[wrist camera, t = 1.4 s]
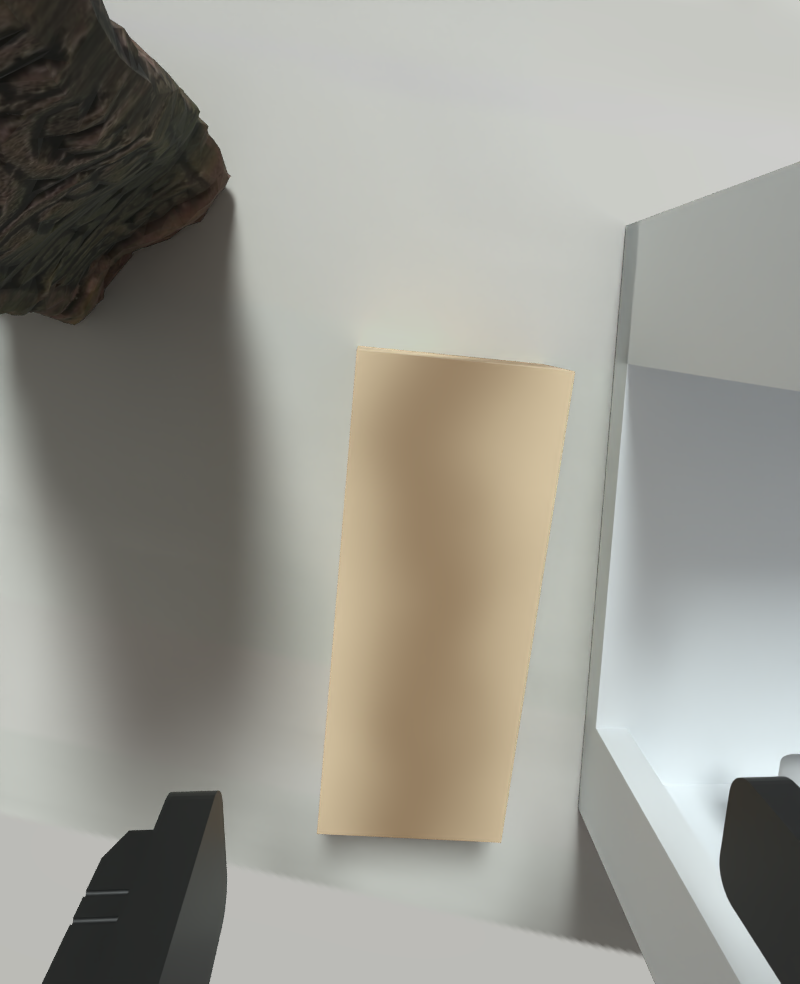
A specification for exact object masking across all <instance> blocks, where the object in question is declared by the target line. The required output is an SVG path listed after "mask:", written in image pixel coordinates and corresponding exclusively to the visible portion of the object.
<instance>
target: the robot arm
mask: <svg viewBox="0 0 800 984" xmlns="http://www.w3.org/2000/svg"><path fill="white" fill-rule="evenodd" d="M226 868H227V867H226V850H225V834H224V817H223V801H222V795H221V792H220V791H194V792H170V793H169V794H168V796H167V798H166V800H165V802H164V805H163V807H162V810H161V812H160V815H159V817H158V820H157V822H156V825H155V827H154V830H132V831H128V832H127V833H126V834H125V835H124V836H123V837H122V838H121V839H120V840H119V841H118V842H117V843H116V844H115V845H114V846H113V847H112V849H110V850H109V852H107V853H106V854H105V855H104V856H103V857H102V859H101V861H100V863H99V865H98V867H97V869H96V871H95V873H94V875H93V878H92V880H91V882H90V884H89V886H88V888H87V890H86V896H85V897H83V898H82V901H81V903H80V905H79V907H78V909H77V911H76V913H75V915H74V917H73V924H72V925H70V926H69V928H68V930H67V932H66V934H65V936H64V938H63V941H62V942H61V945H60V947H59V949H58V951H57V953H56V955H55V957H54V959H53V961H52V963H51V966H50V968H49V970H48V972H47V974H46V976H45V978H44V980H43V982H42V984H209V982H210V977H211V973H212V968H213V964H214V960H215V955H216V951H217V946H218V942H219V937H220V933H221V928H222V924H223V918H224V912H225V904H226V892H227V869H226ZM719 868H720V876H721V880H722V885H723V888H724V891H725V893H726V896H727V898H728V900H729V902H730V904H731V906H732V908H733V909H734V911H735V912H736V914H737V915H738V917H739V918H740V920H741V922H742V923H743V925H744V926H745V928H746V929H747V931H748V933H749V934H750V936H751V937H752V939H753V940H754V942H755V944H756V945H757V947H758V948H759V950H760V951H761V953H762V955H763V956H764V958H765V959H766V961H767V962H768V964H769V966H770V967H771V969H772V970H773V972H774V973H775V975H776V977H777V978H778V980H779V981H780V983H781V984H800V787H799V786H798V785H797V784H796V783H795V782H794V781H793V780H791V779H790V778H788V777H785V776H773V777H739V778H736V779H735V780H734V781H733V782H732V784H731V786H730V791H729V797H728V803H727V810H726V817H725V823H724V830H723V837H722V843H721V850H720V858H719Z"/></svg>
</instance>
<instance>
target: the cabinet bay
mask: <svg viewBox="0 0 800 984" xmlns="http://www.w3.org/2000/svg"><path fill="white" fill-rule="evenodd" d="M773 776H785V777H788V778H790V779H791V780H793V781H794V782H795V783H796V784H797V785H798V786H799V787H800V162H797V163H794V164H792V165H789V166H786V167H784V168H781V169H778V170H776V171H773V172H770V173H767V174H765V175H762V176H759V177H757V178H754V179H751V180H749V181H746V182H743V183H740V184H738V185H735V186H732V187H730V188H727V189H724V190H721V191H719V192H716V193H713V194H711V195H708V196H705V197H703V198H700V199H697V200H694V201H692V202H689V203H686V204H684V205H681V206H678V207H676V208H673V209H670V210H667V211H665V212H662V213H659V214H657V215H654V216H651V217H649V218H646V219H643V220H640V221H638V222H635V223H632V224H630V225H627V226H626V234H625V246H624V259H623V271H622V283H621V295H620V307H619V319H618V331H617V344H616V356H615V368H614V380H613V392H612V404H611V416H610V428H609V441H608V453H607V465H606V477H605V489H604V501H603V513H602V526H601V538H600V550H599V562H598V574H597V586H596V598H595V610H594V623H593V635H592V647H591V659H590V671H589V683H588V695H587V708H586V720H585V732H584V744H583V756H582V768H581V780H580V792H579V805H578V808H579V811H580V813H581V815H582V818H583V820H584V822H585V824H586V827H587V829H588V831H589V834H590V836H591V838H592V840H593V843H594V845H595V847H596V850H597V852H598V854H599V856H600V859H601V861H602V863H603V866H604V868H605V870H606V872H607V875H608V877H609V879H610V882H611V884H612V886H613V888H614V891H615V893H616V895H617V898H618V900H619V902H620V904H621V907H622V909H623V911H624V914H625V916H626V918H627V920H628V923H629V925H630V927H631V930H632V932H633V934H634V936H635V939H636V941H637V943H638V946H639V948H640V950H641V952H642V955H643V957H644V959H645V962H646V964H647V966H648V968H649V971H650V973H651V975H652V978H653V980H654V982H655V984H781V983H780V981H779V980H778V978H777V977H776V975H775V973H774V972H773V970H772V969H771V967H770V966H769V964H768V962H767V961H766V959H765V958H764V956H763V955H762V953H761V951H760V950H759V948H758V947H757V945H756V944H755V942H754V940H753V939H752V937H751V936H750V934H749V933H748V931H747V929H746V928H745V926H744V925H743V923H742V922H741V920H740V918H739V917H738V915H737V914H736V912H735V911H734V909H733V908H732V906H731V904H730V902H729V900H728V898H727V896H726V893H725V891H724V888H723V885H722V880H721V876H720V868H719V858H720V850H721V843H722V837H723V830H724V823H725V817H726V810H727V803H728V797H729V791H730V786H731V784H732V782H733V781H734V780H735V779H736V778H739V777H773Z"/></svg>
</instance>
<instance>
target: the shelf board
mask: <svg viewBox="0 0 800 984" xmlns="http://www.w3.org/2000/svg"><path fill="white" fill-rule="evenodd" d="M574 375H575V372H574V371H570V370H566V369H562V368H557V367H553V366H549V365H545V364H536V363H526V362H516V361H506V360H496V359H486V358H476V357H466V356H455V355H445V354H435V353H425V352H415V351H405V350H395V349H385V348H375V347H365V346H358V348H357V354H356V366H355V379H354V391H353V403H352V415H351V427H350V439H349V451H348V464H347V476H346V488H345V500H344V512H343V524H342V536H341V549H340V561H339V573H338V585H337V597H336V609H335V621H334V634H333V646H332V658H331V670H330V682H329V694H328V706H327V719H326V731H325V743H324V755H323V767H322V779H321V791H320V804H319V816H318V828H317V834H331V835H352V836H373V837H394V838H415V839H436V840H457V841H477V842H498V843H501V839H502V833H503V827H504V820H505V814H506V807H507V801H508V795H509V788H510V782H511V776H512V769H513V763H514V757H515V750H516V744H517V738H518V731H519V725H520V719H521V712H522V706H523V699H524V693H525V687H526V680H527V674H528V668H529V661H530V655H531V649H532V642H533V636H534V630H535V623H536V617H537V610H538V604H539V598H540V591H541V585H542V579H543V572H544V566H545V560H546V553H547V547H548V541H549V534H550V528H551V522H552V515H553V509H554V502H555V496H556V490H557V483H558V477H559V471H560V464H561V458H562V452H563V445H564V439H565V433H566V426H567V420H568V413H569V407H570V401H571V394H572V388H573V382H574Z"/></svg>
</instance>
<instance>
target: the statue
mask: <svg viewBox="0 0 800 984" xmlns="http://www.w3.org/2000/svg"><path fill="white" fill-rule="evenodd" d="M199 113H200V111H199V109H198V107H197V106H196V105H195V104H194V103H193V101H192V100H191V99H190V98H189V97H188V96H187V95H186V94H185V93H184V91H183V90H182V89H181V88H180V87H179V86H178V85H177V84H176V83H175V81H174V80H173V79H172V78H171V76H170V75H169V74H168V73H167V72H166V71H165V70H164V69H163V68H162V67H161V66H160V65H159V64H158V63H157V62H156V61H155V60H154V59H153V58H151V57H150V56H149V55H148V54H147V53H146V52H145V51H144V50H143V49H142V48H141V47H140V46H139V45H138V44H137V43H136V42H134V41H133V40H132V39H131V38H130V37H129V35H128V34H127V32H126V31H125V29H124V28H123V27H121V26H120V25H118V24H117V23H115V22H113V21H112V20H110V19H109V16H108V14H107V11H106V9H105V6H104V4H103V1H102V0H0V314H4V313H8V314H11V315H25V314H27V313H28V312H36V313H39V314H41V315H44V316H48V317H51V318H54V319H57V320H59V321H62V322H64V323H69V324H73V325H75V324H77V323H79V322H80V321H81V320H83V319H84V318H85V317H86V316H87V315H88V314H89V313H90V312H91V311H92V310H93V308H94V307H95V306H96V304H98V303H99V302H100V301H101V300H102V299H103V298H104V290H105V288H106V287H107V286H108V285H109V283H110V282H111V281H112V280H113V279H114V277H115V276H116V275H117V274H118V272H119V271H120V270H121V269H122V268H123V266H124V265H125V264H126V263H127V261H128V260H129V259H130V258H131V257H132V253H133V251H135V250H138V249H140V248H145V247H148V246H151V245H154V244H156V243H159V242H162V241H165V240H168V239H170V238H171V237H173V236H174V235H175V234H176V233H177V232H179V231H180V230H181V229H182V228H184V227H186V226H188V225H191V224H194V223H197V222H201V220H202V219H203V217H204V216H205V214H206V212H207V210H208V208H209V207H210V205H211V204H212V203H213V201H214V200H215V198H216V197H217V195H218V194H219V192H221V191H222V190H223V189H224V188H225V186H226V184H227V182H228V180H229V178H230V175H229V174H228V173H227V170H226V167H225V164H224V161H223V157H222V154H221V151H220V148H219V147H218V145H217V144H216V143H215V141H214V140H213V139H212V137H211V136H210V135H209V134H208V131H207V129H208V125H207V124H206V123H204V122H203V121H202V120H201V119H200V118H199V117H198V116H199Z"/></svg>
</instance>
